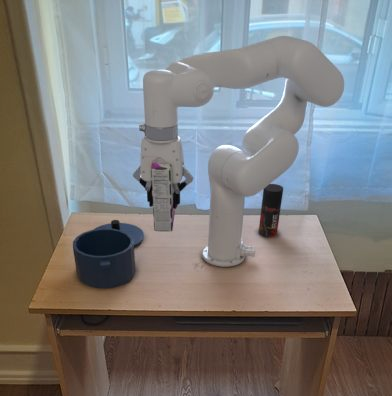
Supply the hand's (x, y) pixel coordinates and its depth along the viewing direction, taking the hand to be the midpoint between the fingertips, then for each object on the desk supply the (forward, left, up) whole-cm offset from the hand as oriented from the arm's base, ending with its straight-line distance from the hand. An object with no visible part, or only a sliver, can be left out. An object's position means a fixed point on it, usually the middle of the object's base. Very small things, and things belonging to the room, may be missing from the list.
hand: (163, 204), depth 127 cm
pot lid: (+19, -17, -20) cm, 32 cm away
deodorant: (-27, -31, -20) cm, 46 cm away
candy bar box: (0, 0, -5) cm, 5 cm away
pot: (+16, +3, -20) cm, 26 cm away
